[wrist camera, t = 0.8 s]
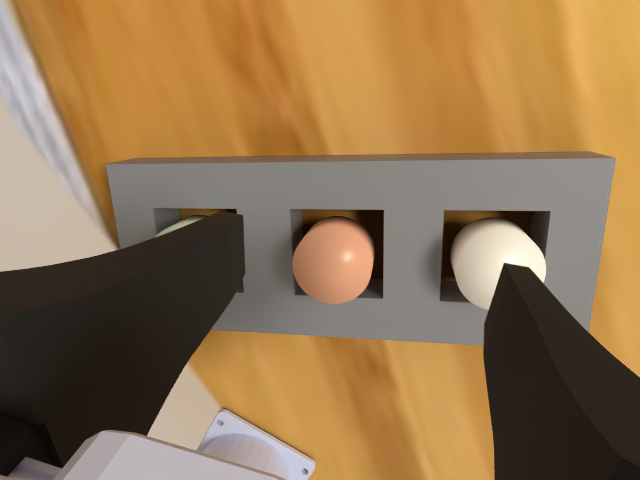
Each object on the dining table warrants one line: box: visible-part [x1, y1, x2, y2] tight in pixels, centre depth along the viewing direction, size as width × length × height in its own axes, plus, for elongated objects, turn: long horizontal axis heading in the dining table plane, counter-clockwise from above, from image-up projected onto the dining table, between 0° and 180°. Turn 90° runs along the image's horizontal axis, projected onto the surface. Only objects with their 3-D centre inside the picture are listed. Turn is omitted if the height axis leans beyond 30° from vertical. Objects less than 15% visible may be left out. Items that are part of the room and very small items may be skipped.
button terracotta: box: [293, 216, 375, 304], centre depth 23 cm, size 4×4×3 cm
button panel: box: [106, 152, 616, 346], centre depth 26 cm, size 26×10×3 cm, turn 92°
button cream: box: [450, 217, 546, 310], centre depth 22 cm, size 4×4×3 cm
